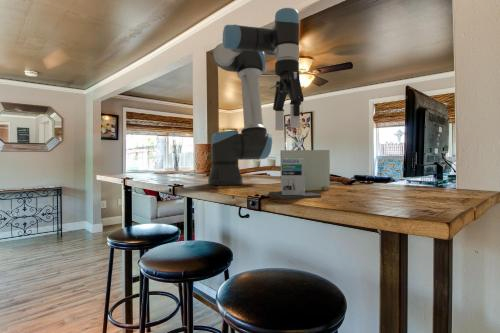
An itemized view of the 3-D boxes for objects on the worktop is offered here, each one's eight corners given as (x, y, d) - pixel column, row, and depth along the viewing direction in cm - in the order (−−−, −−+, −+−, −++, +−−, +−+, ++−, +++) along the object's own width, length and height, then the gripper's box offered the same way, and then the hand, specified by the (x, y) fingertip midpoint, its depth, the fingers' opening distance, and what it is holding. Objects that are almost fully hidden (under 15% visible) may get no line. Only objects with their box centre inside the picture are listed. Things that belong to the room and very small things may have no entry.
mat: (269, 193, 93) (269, 191, 93) (303, 192, 96) (303, 190, 96) (282, 199, 82) (282, 197, 82) (321, 197, 84) (321, 195, 84)
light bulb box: (304, 195, 83) (304, 158, 83) (281, 195, 84) (280, 158, 84) (304, 191, 94) (304, 157, 93) (283, 191, 95) (283, 158, 94)
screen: (279, 190, 101) (279, 150, 101) (326, 188, 106) (325, 150, 105) (283, 191, 98) (283, 150, 97) (331, 189, 102) (331, 149, 101)
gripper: (264, 71, 103) (264, 131, 105) (290, 47, 79) (290, 126, 80) (284, 72, 105) (283, 131, 106) (315, 49, 81) (315, 126, 82)
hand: (286, 129), depth 93 cm, fingers open, 13 cm apart
